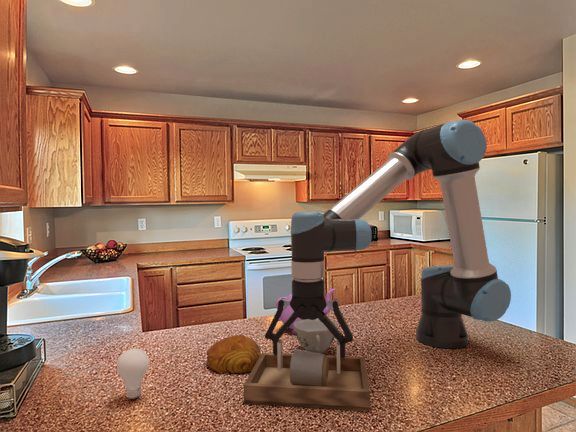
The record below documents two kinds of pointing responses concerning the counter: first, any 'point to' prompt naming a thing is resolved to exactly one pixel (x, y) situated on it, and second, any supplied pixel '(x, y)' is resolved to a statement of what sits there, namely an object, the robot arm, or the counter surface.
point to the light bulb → (133, 370)
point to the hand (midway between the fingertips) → (309, 369)
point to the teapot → (289, 311)
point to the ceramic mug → (309, 368)
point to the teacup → (314, 335)
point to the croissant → (233, 355)
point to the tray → (334, 395)
